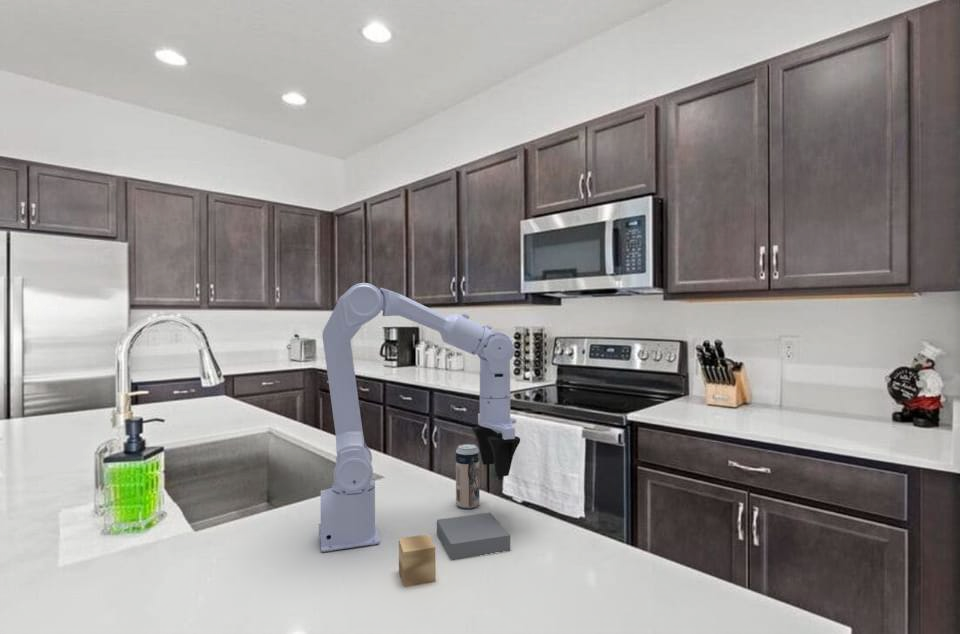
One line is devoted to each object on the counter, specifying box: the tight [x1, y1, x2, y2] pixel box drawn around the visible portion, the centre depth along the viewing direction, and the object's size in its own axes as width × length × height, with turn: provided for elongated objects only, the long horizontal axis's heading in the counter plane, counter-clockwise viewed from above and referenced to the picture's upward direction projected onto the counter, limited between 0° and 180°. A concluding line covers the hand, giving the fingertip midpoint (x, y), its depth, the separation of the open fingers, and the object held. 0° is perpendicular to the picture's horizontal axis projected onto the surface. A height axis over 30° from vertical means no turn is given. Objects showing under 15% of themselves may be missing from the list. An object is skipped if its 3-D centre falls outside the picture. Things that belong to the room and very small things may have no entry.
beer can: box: [455, 443, 480, 510], centre depth 100 cm, size 5×5×12 cm
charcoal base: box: [436, 512, 511, 561], centre depth 83 cm, size 10×10×3 cm
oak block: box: [398, 533, 437, 588], centre depth 72 cm, size 5×5×5 cm
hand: (495, 469), depth 91 cm, fingers open, 7 cm apart
